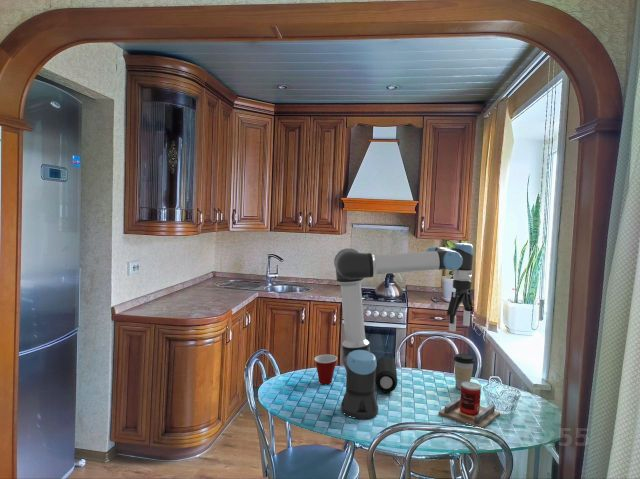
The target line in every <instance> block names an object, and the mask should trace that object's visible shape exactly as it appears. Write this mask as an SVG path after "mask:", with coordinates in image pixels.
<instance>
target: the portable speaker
mask: <svg viewBox="0 0 640 479" xmlns="http://www.w3.org/2000/svg"><path fill="white" fill-rule="evenodd" d="M376 363H377V366H376V377H375V387H376V388H377V389H378V391H381V392H382V393H391V392H393V391H394V390H396V388H397V386H398V373H397V364H396V362H395V361H394V359H393V358H391V357H390V356H382V357H380V358H378V359H377V360H376Z"/></svg>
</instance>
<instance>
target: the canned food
mask: <svg viewBox="0 0 640 479" xmlns="http://www.w3.org/2000/svg"><path fill="white" fill-rule="evenodd" d="M481 394H482V387H481V385H480V384H479V383H478V382H473V381H470V382H463V383H461V390H460V396H459V397H460V411H461V412H462V413H464V414H466V415H471V416H474V415H477V414H479V411H480V406H481Z"/></svg>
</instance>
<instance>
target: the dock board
mask: <svg viewBox="0 0 640 479" xmlns="http://www.w3.org/2000/svg"><path fill="white" fill-rule="evenodd" d="M495 408H496V406H495V405H494V404H490V405H488V406H487V407H484V406H481V405H480V411H479V414H477V415H474V416H471V415H466V414H464V413H462V412H461V411H460V396H459V397H457V398H455V399H454V400H453V401H451V402H449V403H448V404H446V405H444V407H443V408H442V409H441V410H439V411H438V416H442V417H444V418H447V419H450V420H453V421H456V422H458V421H459V423H461V422H463V423H462V424H464V423H468V424H471V425H474V426H478V427H481V428H483V429H485V428H486V427H487V426H488V425H490V424H491V423H492V422H494V421H495V420H496V419H498V418H499V417H500V416H501V412H500V411H498V410H495ZM499 415H500V416H499ZM495 418H496V419H495ZM494 419H495V420H494ZM491 421H492V422H491ZM490 422H491V423H490ZM489 423H490V424H489ZM485 426H486V427H485Z"/></svg>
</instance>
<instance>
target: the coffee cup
mask: <svg viewBox="0 0 640 479" xmlns="http://www.w3.org/2000/svg"><path fill="white" fill-rule="evenodd" d="M453 361H454V377H455V388H456V389H458V390H460V391H461V383H463V382H471V380H472V375H473V370H474V367H473V366H474V363H475V362H476V361H475V359H474V356H472V355H471V354H468V353H457V354H455V356H454V357H453Z"/></svg>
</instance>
